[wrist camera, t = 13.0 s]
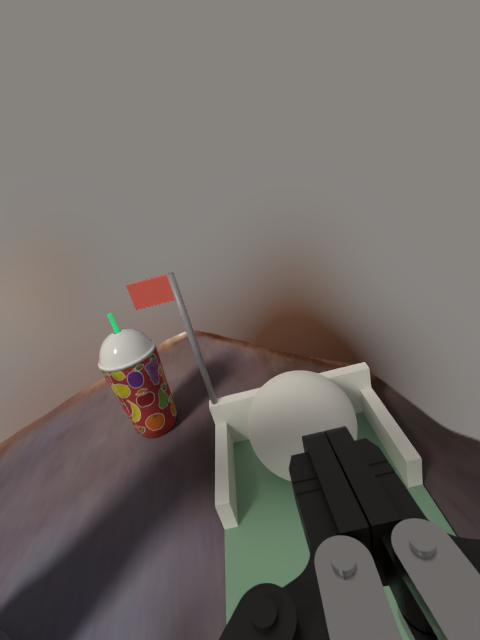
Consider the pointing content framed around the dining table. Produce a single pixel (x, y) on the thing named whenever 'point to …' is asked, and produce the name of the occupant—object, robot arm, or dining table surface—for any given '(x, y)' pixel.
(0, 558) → the dining table surface
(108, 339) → the smoothie
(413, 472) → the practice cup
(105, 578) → the dining table surface
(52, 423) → the dining table surface
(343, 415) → the ball
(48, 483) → the dining table surface
